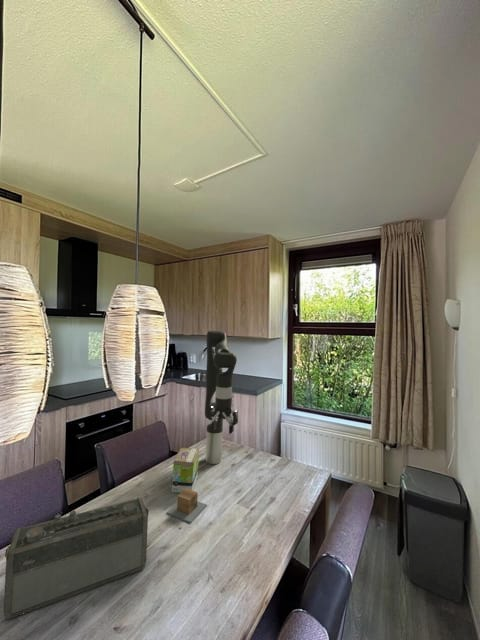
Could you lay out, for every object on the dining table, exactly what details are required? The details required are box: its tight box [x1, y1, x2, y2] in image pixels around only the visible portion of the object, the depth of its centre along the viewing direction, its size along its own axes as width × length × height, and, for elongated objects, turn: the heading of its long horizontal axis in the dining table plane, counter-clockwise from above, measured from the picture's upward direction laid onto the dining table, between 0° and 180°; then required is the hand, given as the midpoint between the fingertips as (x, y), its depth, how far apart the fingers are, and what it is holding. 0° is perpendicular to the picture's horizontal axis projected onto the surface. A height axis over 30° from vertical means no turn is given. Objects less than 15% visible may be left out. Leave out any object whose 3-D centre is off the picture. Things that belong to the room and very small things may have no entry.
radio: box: [3, 496, 149, 620], centre depth 87 cm, size 38×14×20 cm, turn 119°
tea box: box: [171, 447, 200, 494], centre depth 137 cm, size 15×10×15 cm, turn 179°
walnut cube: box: [177, 489, 199, 515], centre depth 119 cm, size 6×6×6 cm
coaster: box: [166, 500, 208, 524], centre depth 119 cm, size 12×12×1 cm
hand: (222, 431), depth 128 cm, fingers open, 8 cm apart
